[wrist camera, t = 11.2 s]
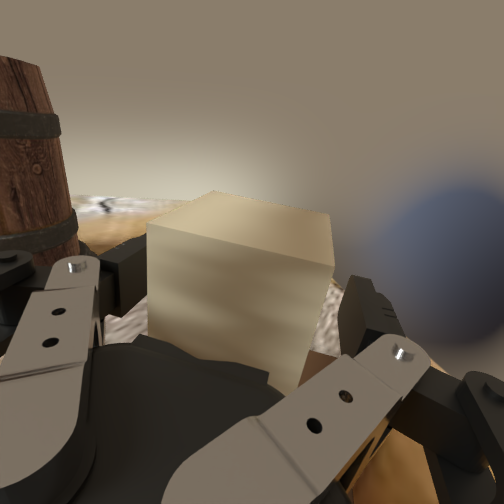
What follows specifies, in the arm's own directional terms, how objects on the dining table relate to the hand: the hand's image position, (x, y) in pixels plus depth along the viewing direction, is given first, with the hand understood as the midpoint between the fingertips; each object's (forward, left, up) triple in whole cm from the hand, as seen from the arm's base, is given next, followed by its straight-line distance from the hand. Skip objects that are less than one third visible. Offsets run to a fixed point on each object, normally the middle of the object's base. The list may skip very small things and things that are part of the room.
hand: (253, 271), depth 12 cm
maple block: (0, -2, -7) cm, 7 cm away
